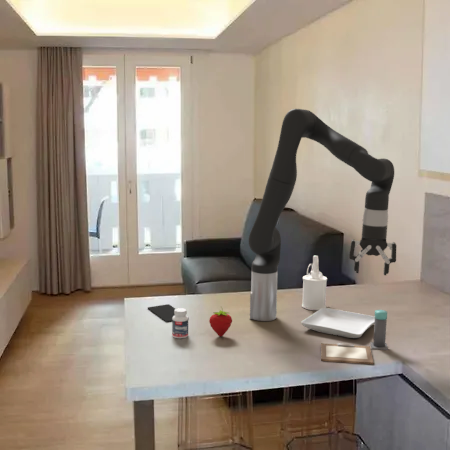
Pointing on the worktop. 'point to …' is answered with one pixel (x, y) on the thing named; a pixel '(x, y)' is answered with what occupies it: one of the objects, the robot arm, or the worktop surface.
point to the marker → (380, 328)
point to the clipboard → (346, 353)
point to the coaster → (379, 347)
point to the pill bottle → (180, 323)
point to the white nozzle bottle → (314, 288)
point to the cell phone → (163, 312)
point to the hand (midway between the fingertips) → (371, 273)
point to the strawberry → (220, 322)
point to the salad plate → (339, 322)
